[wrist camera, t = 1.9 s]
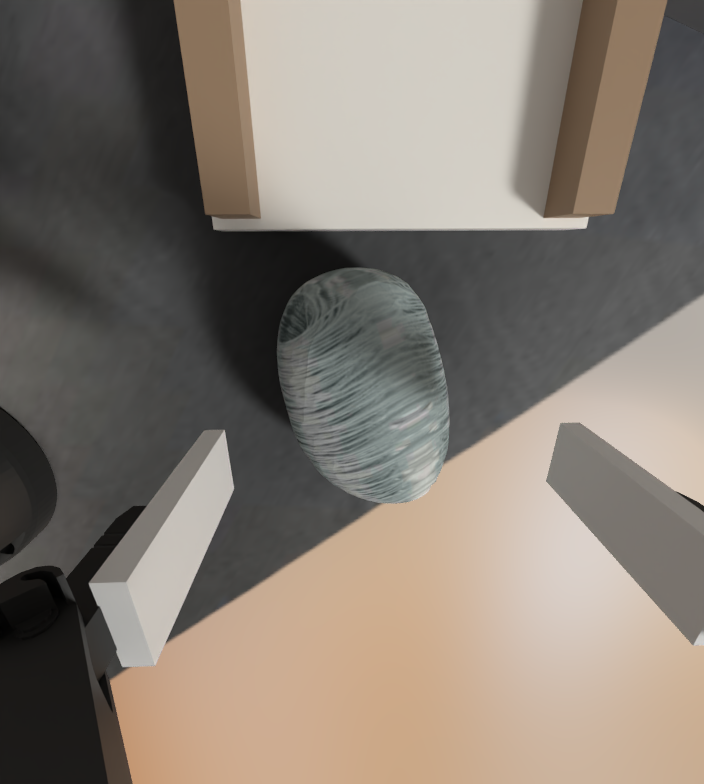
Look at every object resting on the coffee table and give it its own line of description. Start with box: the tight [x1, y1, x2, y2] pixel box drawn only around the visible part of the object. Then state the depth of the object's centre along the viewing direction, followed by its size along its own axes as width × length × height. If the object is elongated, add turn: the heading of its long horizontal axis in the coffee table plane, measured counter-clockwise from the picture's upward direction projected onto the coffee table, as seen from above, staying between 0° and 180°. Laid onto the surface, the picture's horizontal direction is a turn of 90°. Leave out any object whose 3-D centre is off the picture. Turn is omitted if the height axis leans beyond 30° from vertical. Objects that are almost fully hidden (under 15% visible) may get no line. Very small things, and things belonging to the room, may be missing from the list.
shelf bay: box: [174, 0, 667, 231], centre depth 15 cm, size 20×16×4 cm
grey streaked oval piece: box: [277, 267, 450, 503], centre depth 20 cm, size 14×10×10 cm
